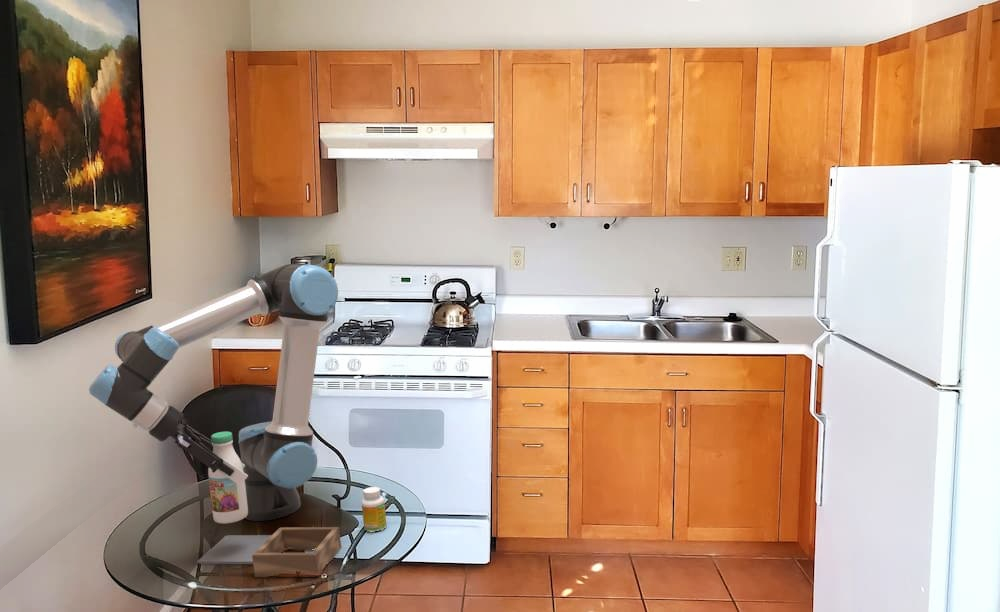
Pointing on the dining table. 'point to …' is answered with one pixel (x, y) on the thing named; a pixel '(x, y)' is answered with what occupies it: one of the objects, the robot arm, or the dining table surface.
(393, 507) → the dining table surface
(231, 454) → the milk bottle
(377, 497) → the supplement bottle
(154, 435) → the robot arm
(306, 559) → the walnut crate
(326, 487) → the dining table surface
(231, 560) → the rubber mat
